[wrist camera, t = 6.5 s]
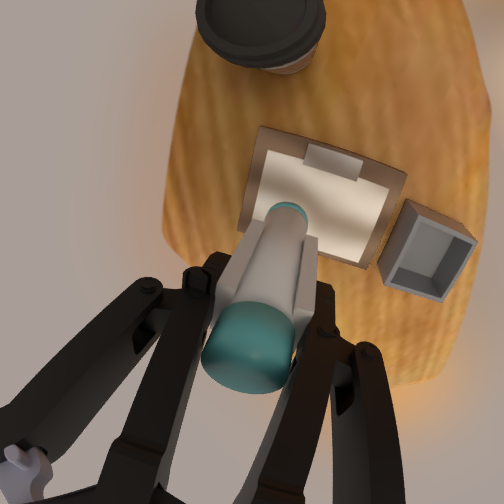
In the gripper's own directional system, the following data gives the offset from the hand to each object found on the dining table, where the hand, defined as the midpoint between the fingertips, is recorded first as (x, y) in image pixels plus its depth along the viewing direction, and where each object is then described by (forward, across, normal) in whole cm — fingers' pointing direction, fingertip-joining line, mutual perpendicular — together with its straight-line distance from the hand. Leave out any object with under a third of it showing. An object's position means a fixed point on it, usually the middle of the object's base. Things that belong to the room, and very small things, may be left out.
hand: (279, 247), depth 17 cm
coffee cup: (+17, -5, +14) cm, 23 cm away
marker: (+4, 0, 0) cm, 4 cm away
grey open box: (+17, +18, -3) cm, 24 cm away
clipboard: (+17, +3, -2) cm, 17 cm away
